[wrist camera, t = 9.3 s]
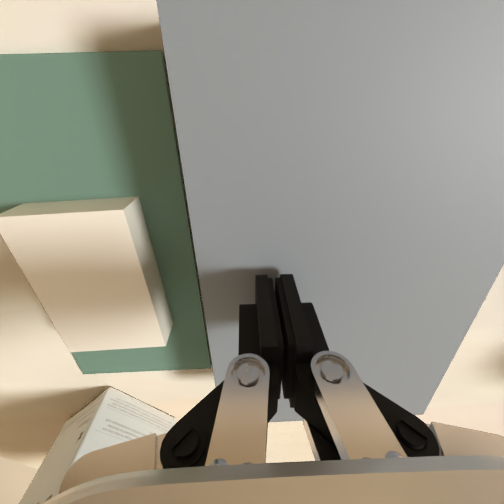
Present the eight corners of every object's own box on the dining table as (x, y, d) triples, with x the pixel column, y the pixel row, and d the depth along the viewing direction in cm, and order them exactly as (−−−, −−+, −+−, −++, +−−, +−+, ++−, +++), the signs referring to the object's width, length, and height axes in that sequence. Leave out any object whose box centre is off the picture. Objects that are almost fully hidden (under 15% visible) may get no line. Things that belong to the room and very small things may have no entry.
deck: (182, 20, 10) (152, -26, 7) (524, 12, 11) (663, -35, 7) (224, 372, 21) (221, 424, 18) (393, 364, 21) (423, 414, 18)
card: (123, 209, 12) (138, 196, 13) (-10, 217, 12) (23, 203, 13) (165, 346, 16) (173, 322, 18) (69, 352, 16) (86, 328, 18)
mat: (-82, 57, 11) (-90, 56, 10) (162, 51, 11) (160, 50, 11) (85, 370, 20) (83, 374, 20) (211, 364, 21) (210, 368, 20)
